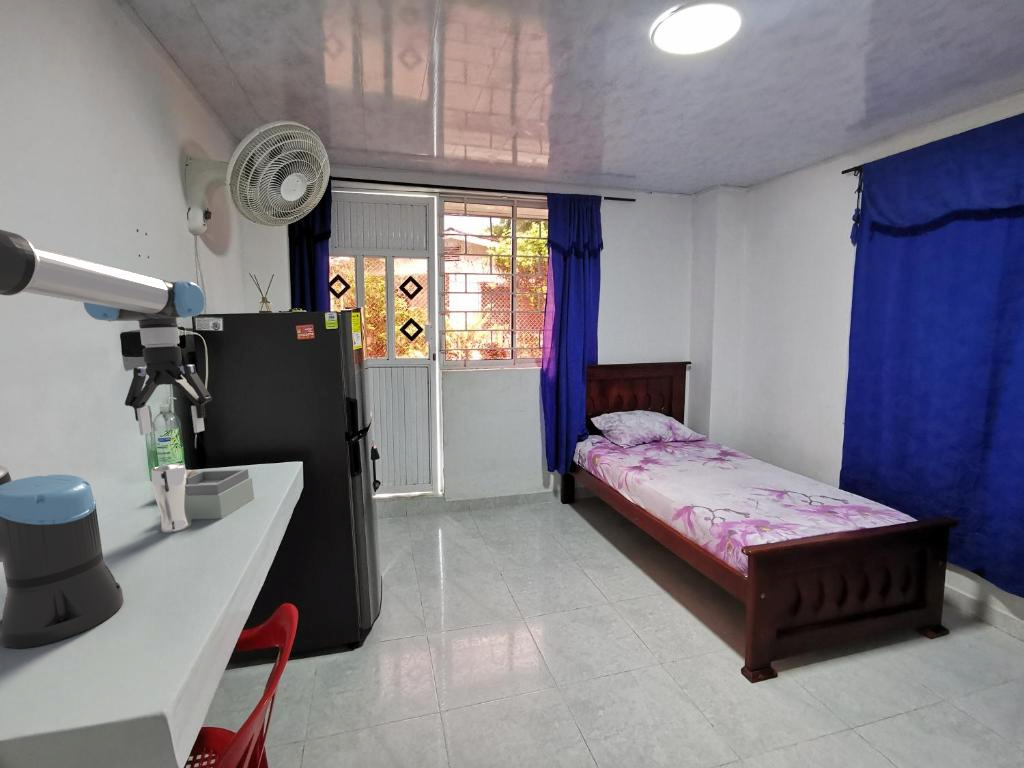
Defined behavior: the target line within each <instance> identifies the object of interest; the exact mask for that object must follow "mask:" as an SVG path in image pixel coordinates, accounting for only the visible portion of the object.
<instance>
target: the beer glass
mask: <svg viewBox="0 0 1024 768" xmlns="http://www.w3.org/2000/svg"><path fill="white" fill-rule="evenodd" d="M186 470H187V468H186V465H185V463H182V462H175V463H169V464H168V463H167V464H163V465H158V466H156V467H153V468H151V470H150V471H151V486H152V491H153V496H154V499H155V502H156V504H157V507H158V509H159V513H160V517H161V526H160V527H161V528H160V531H161V532H162V533H164V534H165V533H166V534H171V533H175V532H176V533H177V532H180V531H183V530H186V529H188V528H190V527H191V526H192V523H193V522H192V519H190V517H189V514H188V491H189V486H188V478H187V473H186Z"/></svg>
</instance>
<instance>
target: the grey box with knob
mask: <svg viewBox="0 0 1024 768" xmlns="http://www.w3.org/2000/svg"><path fill="white" fill-rule="evenodd" d="M187 478H188V486H189V491H188V514H189V517H190V520H213V519H215V520H217V519H224V518H225V517H227V516H229V515H230V514H232V513H233V512H235V511H236V510H239V509H240V508H241V507H242V506H243V507H244V505H246V504H249V502H251V501H252V500H254V499H255V493H254V485H253V484H254V483H253V477H250V474H249V469H248V468H247V469H244V468H243V469H222V470H221V469H219V470H217V469H216V470H214V469H213V470H201V471H199V472H198V473H196V474H194V475H192V476H190V477H187Z"/></svg>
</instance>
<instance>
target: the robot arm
mask: <svg viewBox="0 0 1024 768" xmlns="http://www.w3.org/2000/svg"><path fill="white" fill-rule="evenodd" d="M22 292H23V293H27V294H28V293H29V294H35V295H38V296H39V295H40V296H45V297H52V298H56V299H63V300H69V301H75V302H81V303H83V307H84V310H85V312H86V313H87V314H88V315H89V317H91V318H93V319H95V320H99V321H106V322H110V323H111V322H122V321H123V322H132V321H135V322H138V326H139V333H140V341H141V342H140V343H141V345H142V346H144V348H143V349H142V357H143V362H144V363H145V364H146V366H139V367H133V370H132V372H133V377H132V379H131V383H130V386H129V390H128V391H127V394H126V399H125V401H124V405H125V406H127V407H131V408H133V410H134V416H135V417H134V418H135V420H136V422H138V427H139V433H140V436H144V435H148V434H151V433H152V425H151V416H150V410H149V409H150V408H149V406H147V402H148V401H149V400H150V398H151V397H152V395H153V393H154V392H155V390H156V389H157V387H158V386H162V385H169V386H170V385H173V387H174V386H175V387H177V388H178V389H179V390H180V391H181V392H182V394H184V396H185V397H186V398H187V399H188V400H189V401H190V402H192V405H191V406H190V408H191V416H192V417H191V418H192V424H193V425H192V427H193V433H194V434H196V433H200V432H204V431H205V423H204V422H205V421H204V418H206V407H205V405H206V404H207V403H208V402H212V401H213V397H212V396H211V394H210V392H209V391H208V389H207V387H206V386H205V385H204V383H203V381H202V380H201V377H200V376H199V374H198V373H197V370H196V366H195V364H193V363H191V364H184V365H182V360H183V358H182V357H183V356H182V349H181V347H180V345H179V346H178V344H180V342H181V341H180V334H179V328H178V327H179V326H178V320H177V318H183V319H185V318H189V317H191V318H192V317H196V316H199V315H200V314H201V313H202V312H203V311H204V309H205V306H206V303H205V302H206V301H205V294H204V291H203V290H202V288H201V287H200V286H199V285H198V284H197V283H195V282H192V281H183V280H178V281H168V280H164V279H160V278H157V277H151V276H149V275H144V274H142V273H137V272H134V271H130V270H126V269H123V268H118V267H115V266H111V265H107V264H104V263H102V262H101V263H100V262H96V261H92V260H88V259H85V258H82V257H78V256H75V255H70V254H66V253H63V252H59V251H55V250H52V249H49V248H44V247H41V246H36V245H35V244H32V243H31V242H30V241H29V239H28V238H25V236H23V235H21V234H17V233H14V232H11V231H7V230H4V229H0V296H6V297H7V296H16V295H18V294H21V293H22ZM182 374H184V375H185V377H184V376H183V375H182ZM147 376H148V378H147ZM146 378H147V379H146ZM96 505H97V502H96V498H95V496H94V495H93V491H92V486H91V484H90V483H89V481H88V480H86V479H85V478H83V477H81V476H78V475H70V474H49V475H44V476H43V475H35V476H29V477H23V478H19V479H16V480H12V477H11V475H10V472H9V469H8V468H7V467H6V466H3V465H0V563H2V567H3V573H4V577H5V578H4V579H5V582H6V587H7V588H6V589H7V591H6V596H5V602H4V605H3V611H2V617H1V619H0V643H1V645H2V646H4V647H6V646H7V647H6V648H10V647H11V648H12V649H25V648H26V649H27V648H32V647H38V646H43V645H48V644H51V643H55V642H58V641H61V640H64V639H67V638H70V637H72V636H76V635H78V634H80V633H83V632H85V631H88V630H89V629H91V628H93V627H96V626H97V625H99V624H101V623H102V622H105V620H107V619H109V618H111V617H112V616H113V615H114V614H116V613H117V612H118V611H119V609H120V608H121V607H122V606H123V605H124V602H125V600H124V596H123V595H124V593H123V588H122V586H121V585H120V583H118V582H117V581H116V580H117V579H115V577H114V574H113V573H112V572H111V570H110V568H109V567H108V566H107V564H106V563H105V560H104V554H103V548H102V541H101V534H100V527H99V520H98V519H99V518H98V513H97V506H96Z"/></svg>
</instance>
